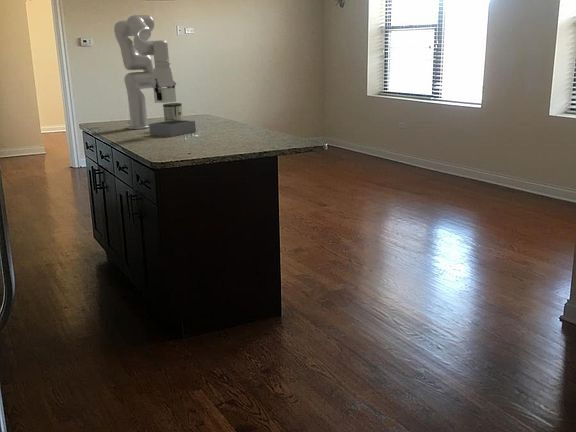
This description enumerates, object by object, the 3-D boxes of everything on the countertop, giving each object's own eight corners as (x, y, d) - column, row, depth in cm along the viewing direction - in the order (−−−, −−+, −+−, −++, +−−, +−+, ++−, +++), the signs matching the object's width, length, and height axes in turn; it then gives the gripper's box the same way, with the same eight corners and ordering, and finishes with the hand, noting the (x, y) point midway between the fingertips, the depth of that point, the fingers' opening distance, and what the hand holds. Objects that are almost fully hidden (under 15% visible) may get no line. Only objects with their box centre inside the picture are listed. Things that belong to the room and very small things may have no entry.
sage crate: (154, 102, 335) (153, 89, 333) (164, 101, 340) (163, 88, 338) (166, 102, 329) (164, 89, 328) (176, 101, 335) (175, 88, 333)
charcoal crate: (150, 135, 337) (149, 123, 335) (175, 130, 351) (174, 119, 349) (171, 136, 327) (170, 125, 326) (195, 132, 341) (195, 120, 340)
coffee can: (168, 128, 363) (165, 103, 360) (185, 127, 362) (183, 102, 359) (162, 130, 354) (160, 105, 350) (180, 130, 352) (178, 104, 349)
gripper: (169, 64, 339) (172, 98, 343) (144, 65, 326) (147, 101, 330) (179, 64, 334) (182, 98, 339) (153, 65, 321) (157, 101, 326)
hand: (165, 99), depth 334 cm, fingers closed on sage crate, 7 cm apart
